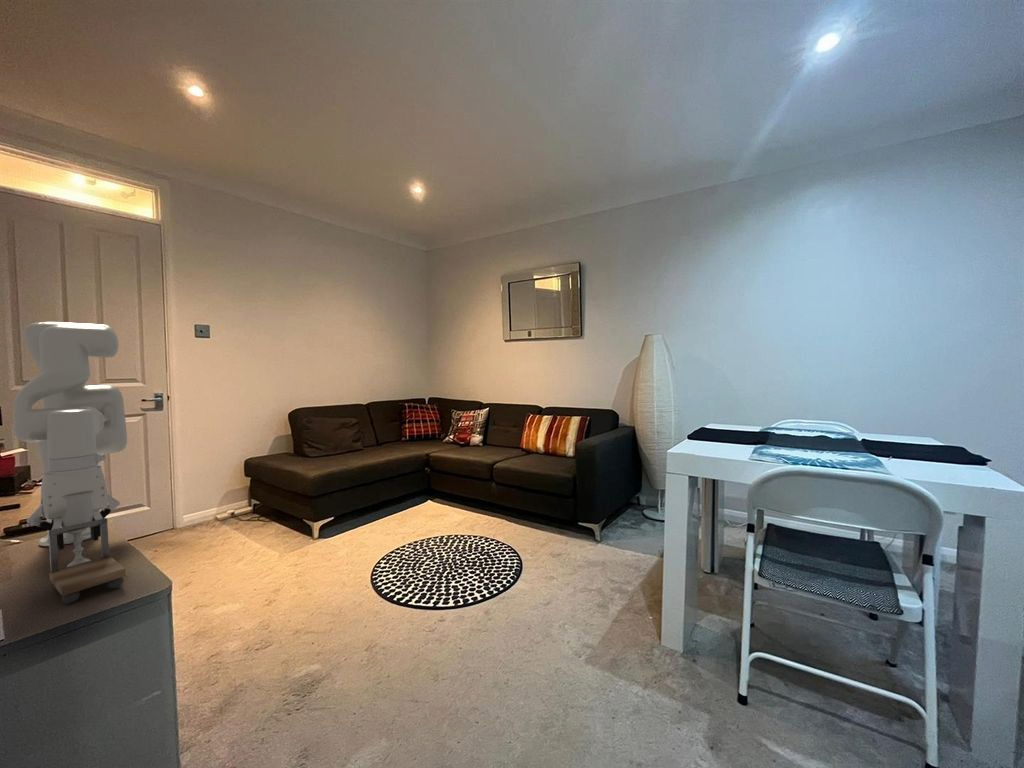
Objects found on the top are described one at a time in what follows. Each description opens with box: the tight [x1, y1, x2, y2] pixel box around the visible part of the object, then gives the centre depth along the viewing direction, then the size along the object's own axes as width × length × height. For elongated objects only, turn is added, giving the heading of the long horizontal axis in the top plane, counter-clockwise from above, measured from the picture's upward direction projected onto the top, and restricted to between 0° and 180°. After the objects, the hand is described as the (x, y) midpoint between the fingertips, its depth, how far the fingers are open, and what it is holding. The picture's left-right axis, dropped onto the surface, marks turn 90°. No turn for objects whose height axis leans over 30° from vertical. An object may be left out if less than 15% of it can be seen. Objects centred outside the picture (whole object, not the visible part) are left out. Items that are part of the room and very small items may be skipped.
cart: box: [47, 517, 126, 605], centre depth 85 cm, size 12×9×12 cm
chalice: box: [61, 491, 95, 567], centre depth 94 cm, size 7×7×18 cm
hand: (77, 542), depth 94 cm, fingers closed on chalice, 4 cm apart
